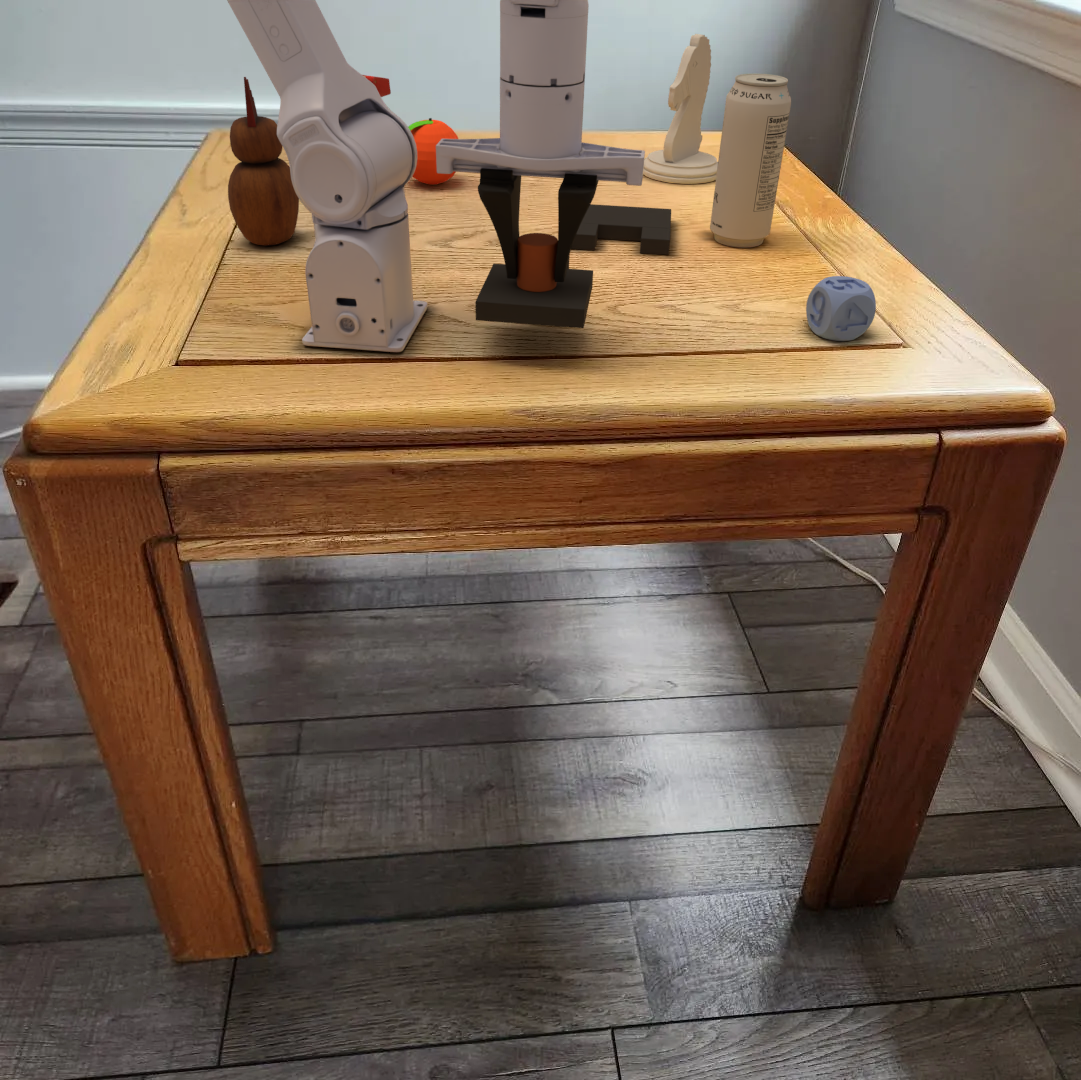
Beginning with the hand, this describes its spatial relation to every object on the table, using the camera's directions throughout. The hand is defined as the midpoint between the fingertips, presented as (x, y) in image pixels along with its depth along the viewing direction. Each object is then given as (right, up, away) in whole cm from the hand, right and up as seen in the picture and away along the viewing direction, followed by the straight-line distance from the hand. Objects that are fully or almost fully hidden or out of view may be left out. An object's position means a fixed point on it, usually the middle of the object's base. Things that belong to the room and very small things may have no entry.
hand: (537, 275), depth 72 cm
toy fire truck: (-23, +25, +44) cm, 55 cm away
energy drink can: (+20, +10, +25) cm, 34 cm away
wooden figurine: (-26, +9, +22) cm, 36 cm away
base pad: (+8, +11, +25) cm, 29 cm away
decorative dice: (+25, -3, +7) cm, 26 cm away
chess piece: (+17, +25, +45) cm, 54 cm away
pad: (0, -1, +3) cm, 3 cm away
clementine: (-13, +21, +39) cm, 46 cm away
